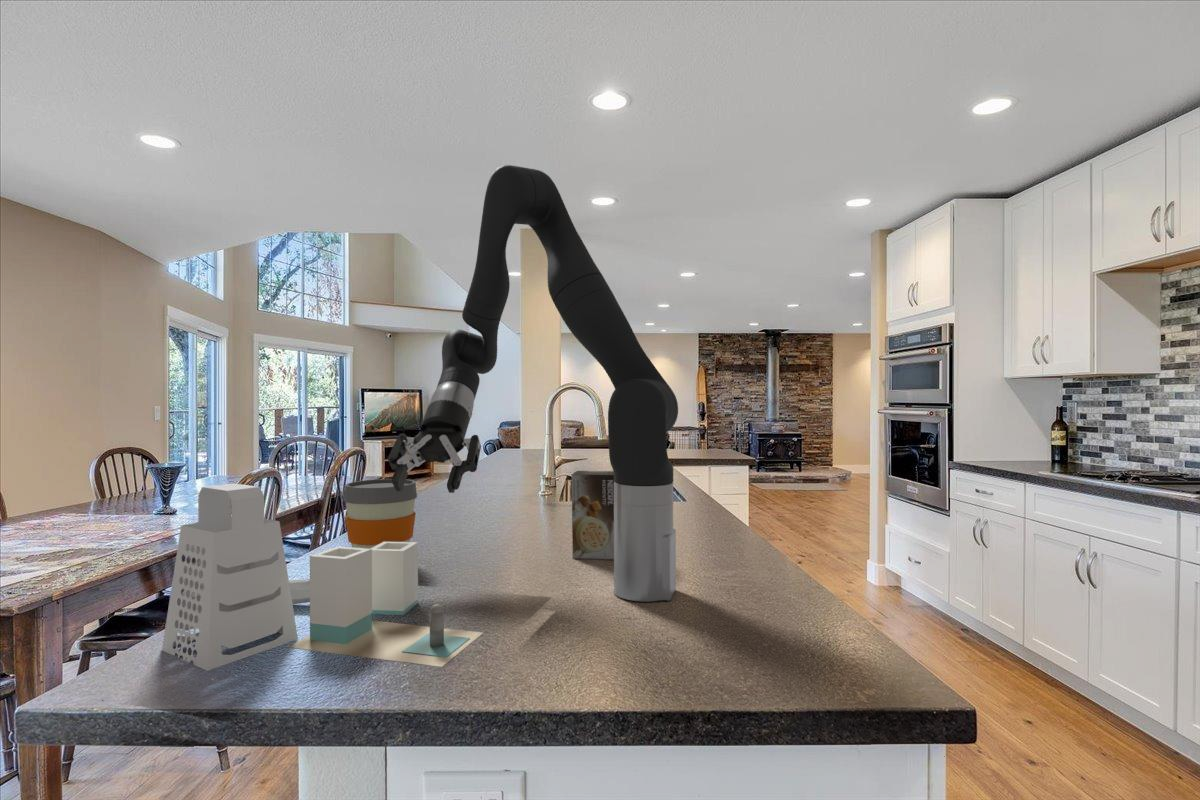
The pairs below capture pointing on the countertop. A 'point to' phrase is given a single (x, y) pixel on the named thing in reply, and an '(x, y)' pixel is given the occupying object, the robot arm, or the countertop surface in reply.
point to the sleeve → (394, 577)
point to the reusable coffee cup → (379, 512)
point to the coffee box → (593, 514)
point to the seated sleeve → (340, 594)
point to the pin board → (402, 642)
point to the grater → (229, 579)
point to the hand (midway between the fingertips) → (423, 489)
